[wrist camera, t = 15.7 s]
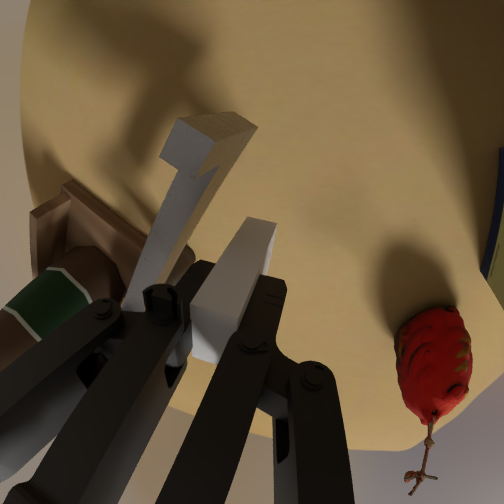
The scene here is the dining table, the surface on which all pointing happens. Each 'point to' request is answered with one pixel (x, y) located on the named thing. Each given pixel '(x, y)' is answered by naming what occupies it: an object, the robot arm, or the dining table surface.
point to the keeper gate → (187, 191)
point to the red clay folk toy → (432, 369)
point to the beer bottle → (56, 299)
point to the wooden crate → (89, 235)
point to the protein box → (496, 241)
